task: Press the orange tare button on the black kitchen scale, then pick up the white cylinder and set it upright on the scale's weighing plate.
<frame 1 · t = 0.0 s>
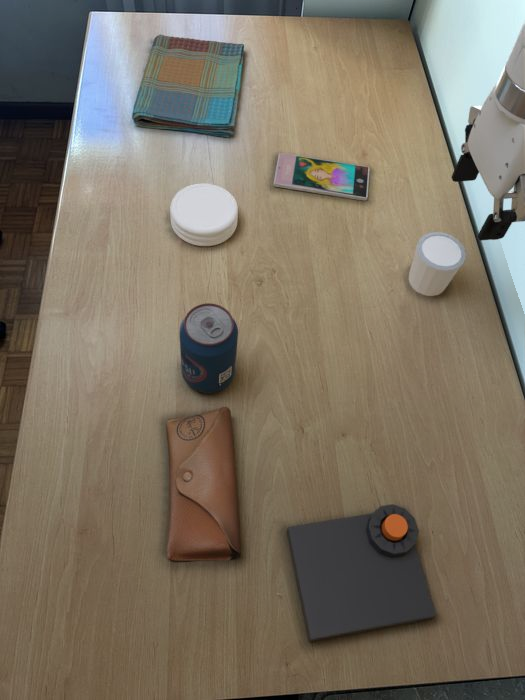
hand: (476, 207, 82), 17 cm above the table, tool pointing down, fingers open, 9 cm apart
smartphone: (321, 179, 107), on the table
dish towel: (191, 89, 116), on the table
sunglasses case: (200, 486, 79), on the table
soda can: (208, 374, 87), on the table
scale: (357, 574, 75), on the table
tare button: (394, 527, 74), point 4 cm above the table, slide at 0.1 cm
white cylinder: (426, 281, 98), on the table
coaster: (204, 223, 100), on the table
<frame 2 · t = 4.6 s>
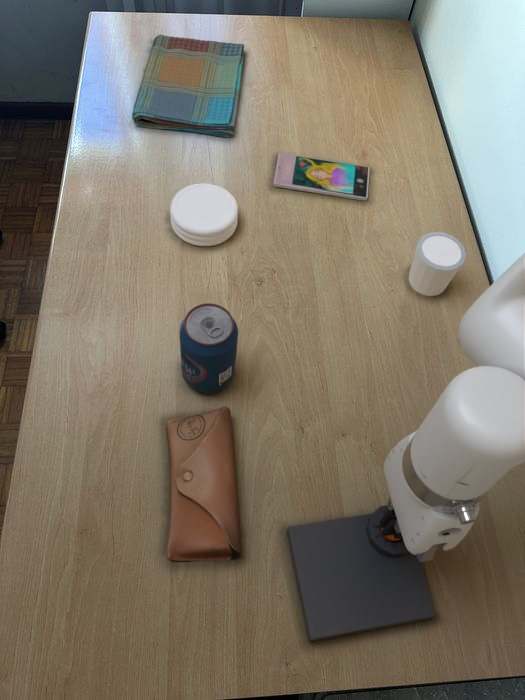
hand: (394, 527, 74), 4 cm above the table, tool pointing down, fingers closed
tare button: (393, 528, 74), point 4 cm above the table, slide at -0.2 cm, touching gripper
everything else where it was.
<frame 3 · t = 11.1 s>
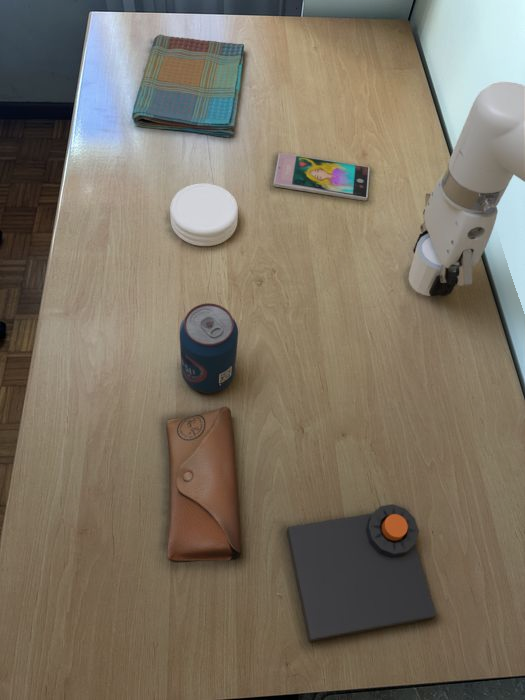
hand: (431, 271, 96), 2 cm above the table, tool pointing down, fingers closed on white cylinder, 6 cm apart
tare button: (394, 527, 74), point 4 cm above the table, slide at 0.1 cm
white cylinder: (426, 281, 98), on the table, touching gripper
everything else where it was.
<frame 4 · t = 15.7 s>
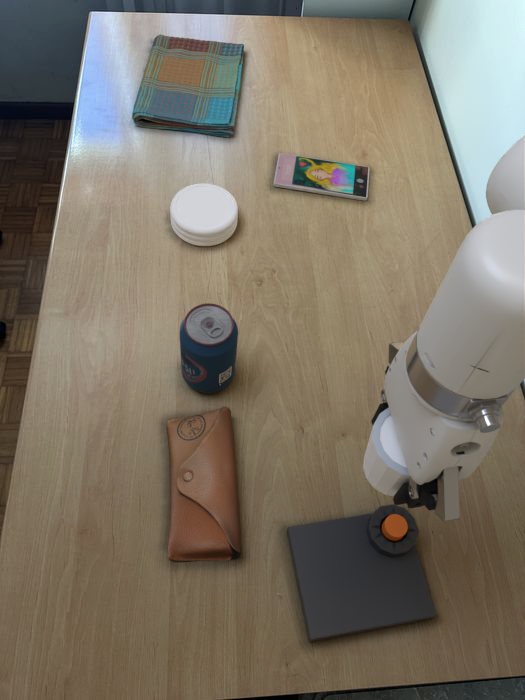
hand: (398, 459, 61), 20 cm above the table, tool pointing down, fingers closed on white cylinder, 6 cm apart
white cylinder: (391, 468, 63), point 18 cm above the table, touching gripper
everything else where it was.
when the fingers open (4 cm above the table, at t = 20.3 s): white cylinder stays where it is, resting on scale.
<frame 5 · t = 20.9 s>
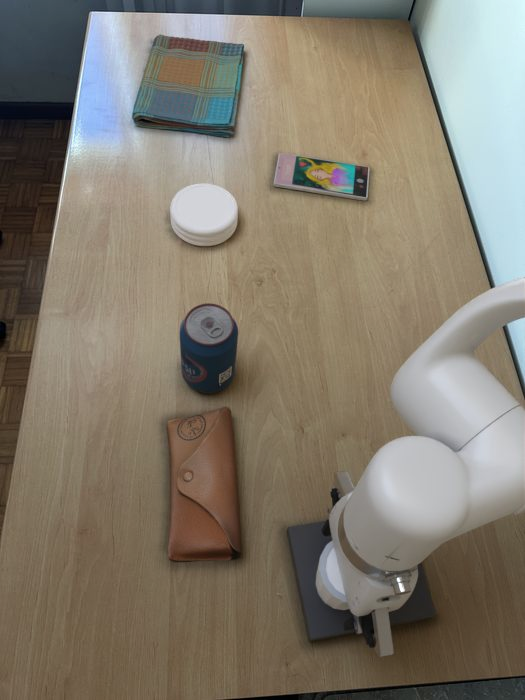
hand: (346, 576, 70), 5 cm above the table, tool pointing down, fingers open, 9 cm apart
white cylinder: (340, 583, 73), point 2 cm above the table, touching scale
everything else where it was.
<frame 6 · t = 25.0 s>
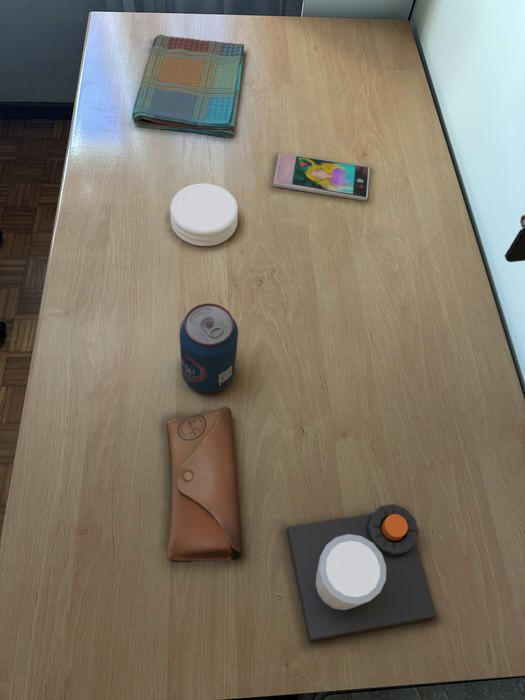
nothing on the table moved.
at the end: tare button pushed in 0.9 cm at the most during the clip, back to where it started at the end; white cylinder inside the target area on the scale (1.6 cm from its centre), point 1.7 cm above the scale's base; white cylinder touching scale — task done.
